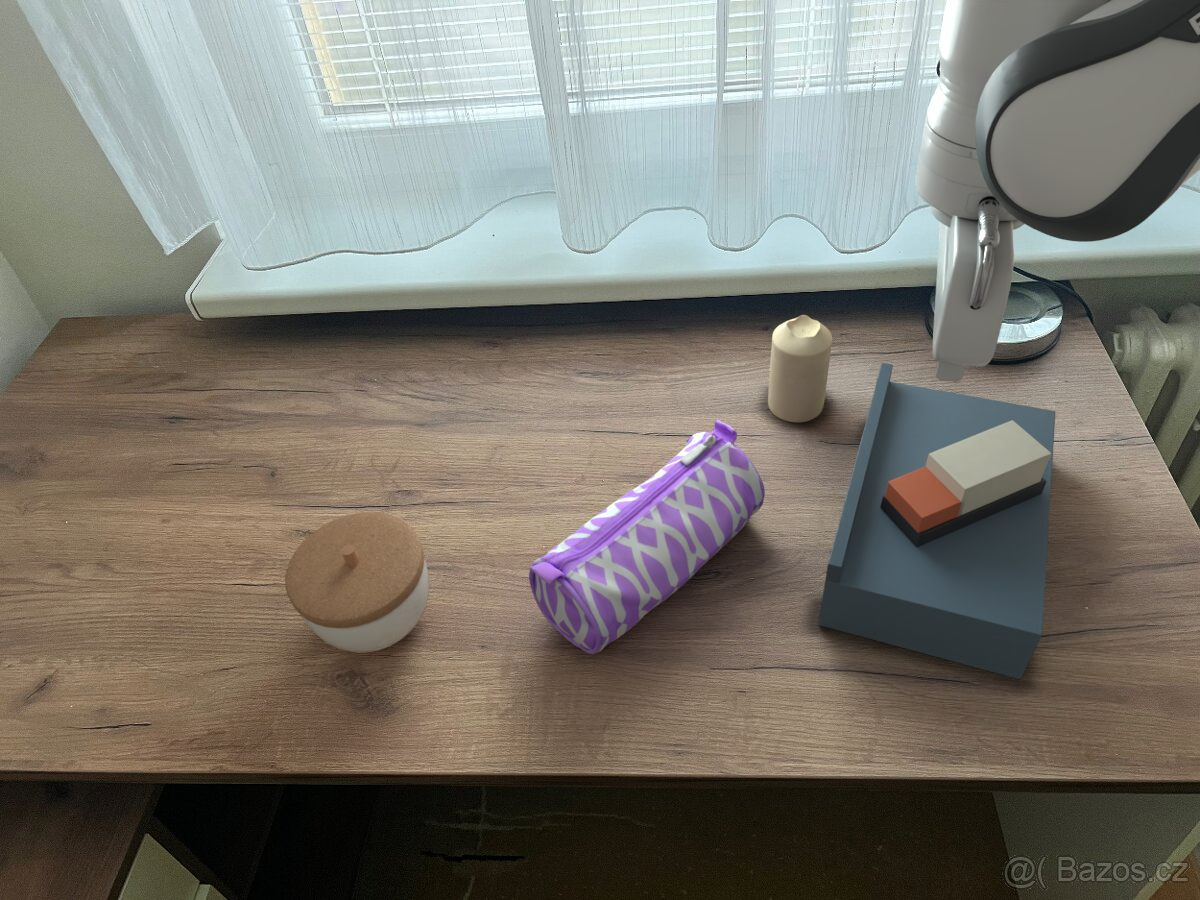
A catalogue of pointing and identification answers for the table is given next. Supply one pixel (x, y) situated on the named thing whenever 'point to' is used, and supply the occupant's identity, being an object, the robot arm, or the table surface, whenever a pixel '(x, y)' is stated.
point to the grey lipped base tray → (939, 541)
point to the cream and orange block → (967, 483)
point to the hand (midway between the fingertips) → (949, 335)
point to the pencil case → (647, 541)
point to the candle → (799, 369)
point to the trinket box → (360, 581)
